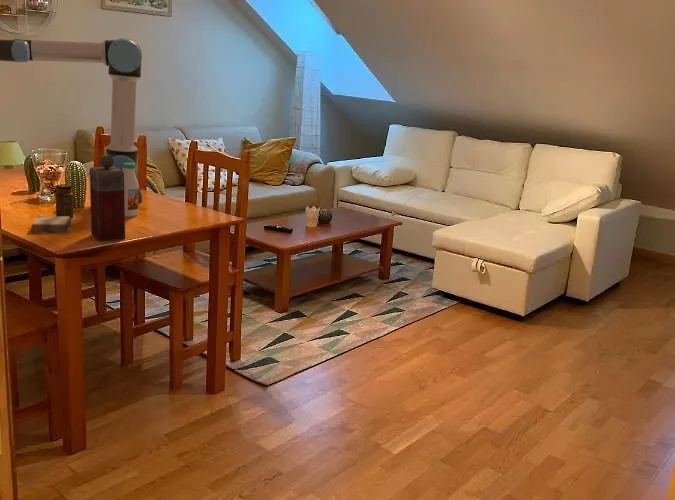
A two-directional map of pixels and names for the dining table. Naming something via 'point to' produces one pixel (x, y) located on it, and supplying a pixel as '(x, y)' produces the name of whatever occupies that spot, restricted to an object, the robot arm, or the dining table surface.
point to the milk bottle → (130, 190)
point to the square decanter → (107, 201)
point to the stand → (51, 224)
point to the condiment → (64, 201)
